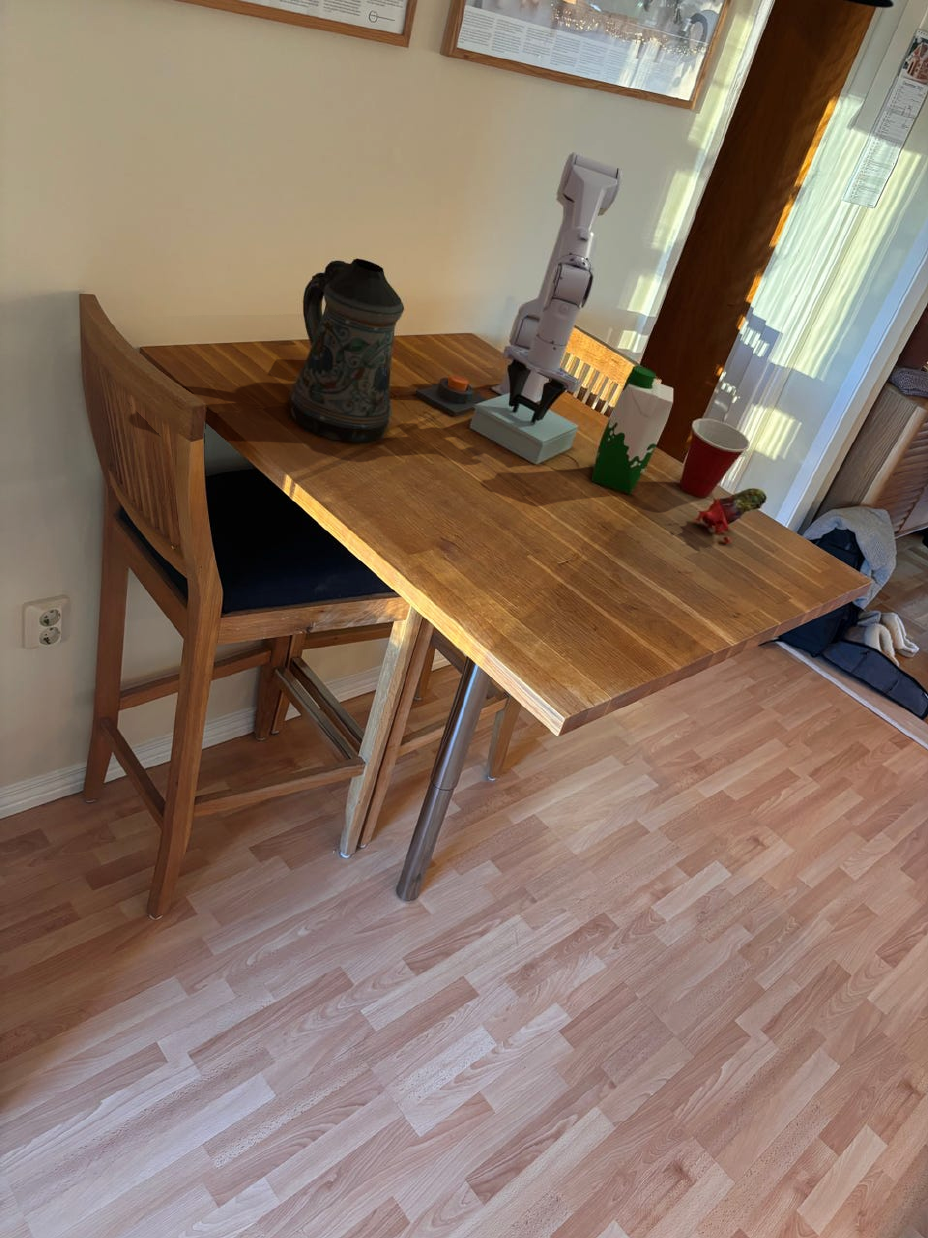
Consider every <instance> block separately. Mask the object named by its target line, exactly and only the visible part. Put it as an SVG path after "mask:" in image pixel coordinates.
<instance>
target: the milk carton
mask: <svg viewBox="0 0 928 1238" xmlns="http://www.w3.org/2000/svg"><path fill="white" fill-rule="evenodd" d="M656 376H657V374H656V372H654V371H653V370H652V369H649V368H647V367H644V366H641V365H634V366H633V367H632V368H631V370H630V372H629V374H628V376H627V378H626V380H625V383H624V385H623V387H622V389H621V392H620V393H619V395H618V398H617V400H616V402H615V405H614V407H613V409H612V412H611V414H610V416H609V419H608V422H607V424H606V426H605V429H604V431H603V434H602V436H601V438H600V442H599V445H598V448H597V452H596V457H595V461H594V466H593V472H592V477H591V482H593V483H596V484H599V485H601V486H603V487H607V488H610V489H612V490H615V491H618V492H621V493H623V494H626V495H629V496H630V495H631V494H632V492H633V490H634V489H635V487H636V485H637V483H638V482H639V481H640V479H641V477H642V476H643V474H644V472H645V470H646V469H647V466H648V464H649V463H650V460H651V458H652V456H653V453H654V451H655V449H656V447H657V444H658V443H659V440H660V438H661V435H662V434H663V431H664V429H665V427H666V424H667V422H668V418H669V415H670V413H671V410H672V406H673V404H674V388H673V387H672V386H668V385H667V384H663V383H660V382H659V381H658V380H656Z"/></svg>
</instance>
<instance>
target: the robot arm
mask: <svg viewBox="0 0 928 1238" xmlns="http://www.w3.org/2000/svg"><path fill="white" fill-rule="evenodd" d="M623 176H624V174H623V170H622V168H621V167H615V166H612V165H609V164H606V163H603V162H600V161H597V160H594V159H591V158H589V157H585V156H583V155H580V154H577V153H576V152H575V151H574V152H572V153H570V154H568V156H567V158H566V162H565V165H564V167H563V170H562V173H561V177H560V181H559V183H558V187H557V190H556V199H555V200H556V201H557V202H558V203H559V204H560V205H561V206H562V219H561V223H560V226H559V229H558V233H557V236H556V238H555V242H554V245H553V249H552V251H551V255H550V257H549V261H548V265H547V267H546V271H545V273H544V277H543V280H542V283H541V285H540V289H539V293H538V295H537V297H536V298H534V299H531V300H529V301H526V302H524V303H522V304H521V305H520V306H519V308H518V310H517V314H516V316H515V318H514V321H513V324H512V326H511V330H510V335H509V339H508V342H509V344H508V345H505V346H504V349H503V353H502V355H501V357H502V358H505V359H509V360H508V364H507V366H506V369H505V372H504V374H503V379H502V381H501V384H498V385H495V386H492V387H491V390H492V391H493V392H495V393H496V394H499V396H502V395H505V394H508V393H510V396H509V406H511V407H513V406H514V405H515V397H516V395H517V394H521V395H523V396H525V397H527V398H528V399H530V400H532V401H534V402H536V403H538V402H539V403H538V404H539V407H538V409H537V412H536V415H535V420H537V421H539V420H542V419H543V418H544V416H545V414H546V413H547V411H548V410H550V409H551V407H552V406H553V405H554V403H555V402H556V401H557V400H558V399H559V398H560V397H561V396H562V395H563V394H564V393H565V392H566V391H568V392H569V393H575V392H577V391H578V389H579V387H580V384H581V379H579V378H577V377H575V376H574V375H572V374H571V373H569V372H568V371H567V370H566V369H564V368H562V367H561V363H562V360H563V358H564V354H565V352H566V350H567V346H568V343H569V341H570V338H571V335H572V332H573V330H574V328H575V325H576V322H577V320H578V316H579V313H580V311H581V309H583V308H584V307H585V305H586V304H587V302H588V300H589V298H590V295H591V291H592V288H593V285H594V279H595V278H594V277H595V267H594V266H593V263H594V259H595V253H596V249H597V244H598V243H597V237H596V235H595V234H594V233H593V231H594V228H595V225H596V222H597V219H598V216H604V214H605V213H606V212H607V211H608V210H609V209H610V207H611V206H612V205H613V204H614V202H615V201H616V198H617V196H618V193H619V190H620V187H621V185H622V181H623ZM531 315H532V316H531ZM534 316H536V317H534ZM537 317H538V318H537ZM549 380H550V381H549Z"/></svg>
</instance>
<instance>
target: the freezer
mask: <svg viewBox="0 0 928 1238" xmlns="http://www.w3.org/2000/svg"><path fill="white" fill-rule="evenodd" d="M469 428H470V429H472V430H473V431H475V432H477V433H479V434H480V435H482V436H484V437H485V438H487V439H489V440H491V441H492V442H495V443H497V444H498V445H500V446H502V447H503V448H504V449H507V450H508V451H511V452H512V453H514V454H516V455H518V456H520V457H521V458H523V459H525V460H526V461H528V462H530V463H532V464H534V465H535V466H536V465H539V464H541V463H543V462H545V461H546V460H550V459H551V458H553V457H555V456H557V455H559V454H561V453H564V452H565V451H569V450H570V449H571V448H572V445H573V443H574V440H575V437H576V435H577V432H578V429H577V430H574V431H572V432H570V433H568V434H566V435H563V436H561V437H559V438H557V439H554V440H552V441H550V442H548V443H545V444H543V445H541V444H539V443H537V442H535V441H533V440H531V439H530V438H528V437H526V436H524V435H522V434H521V433H519V432H517V431H515V430H513V429H511V428H510V427H508V426H506V425H504V424H502V423H500V422H499V421H497V420H495V419H493V418H491V417H490V416H488V415H486V414H484V413H482V412H480V411H479V410H477V409H475V410H473V415H472V418H471V421H470V424H469Z"/></svg>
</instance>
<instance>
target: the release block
mask: <svg viewBox="0 0 928 1238" xmlns="http://www.w3.org/2000/svg"><path fill="white" fill-rule="evenodd" d="M448 379H449V377H443V378H440V379H439V381H438V384H434V385H431V386H428V387H427V386H426V387H424V388H420V389H416V391H415V397H418V398H419V399H421V400H423V401H424V402H426V403H428V404H429V405H432V406H434V407H436V408H437V409H439V410H441V411H443V412H444V413H446V414H448V415H450V416H451V417H454V418H455V417H456V418H457V417H459V416H462V415H464V414H467V413H470V412H474V411H475V408H474V406H475V404H478V403H481V402H484V401H487V400H488V399H487V398H486V397H484V396H482V395H480V394H478V393H476V392H474V391H475V390H474V388H473V387H472V386H471V384H469V383H468V384H467V388H466V391H458V390H455V389H452V388H450V387H449V386H448V385H447V383H448Z"/></svg>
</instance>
